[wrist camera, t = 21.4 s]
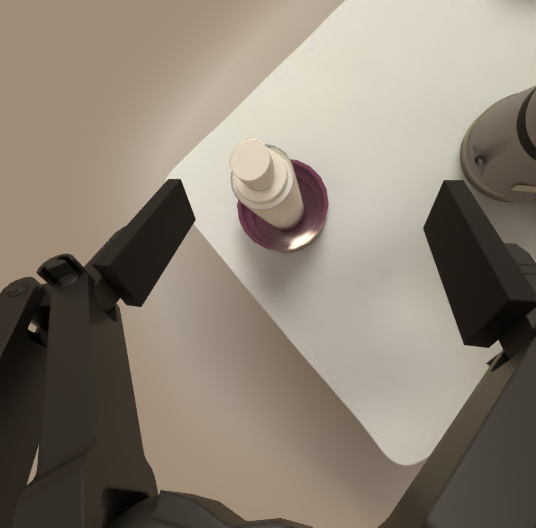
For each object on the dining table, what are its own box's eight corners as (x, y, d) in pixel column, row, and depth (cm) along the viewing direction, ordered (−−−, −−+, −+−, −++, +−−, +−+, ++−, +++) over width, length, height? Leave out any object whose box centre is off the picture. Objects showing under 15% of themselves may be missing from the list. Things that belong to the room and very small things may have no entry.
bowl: (269, 157, 45) (263, 144, 40) (342, 192, 43) (345, 182, 38) (233, 228, 47) (222, 224, 42) (301, 265, 45) (299, 266, 39)
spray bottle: (258, 208, 45) (189, 147, 21) (289, 183, 44) (252, 90, 20) (280, 237, 45) (235, 211, 20) (312, 214, 44) (304, 156, 19)
